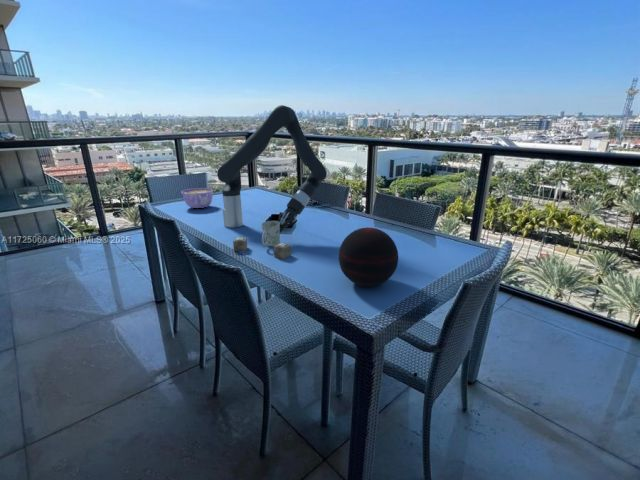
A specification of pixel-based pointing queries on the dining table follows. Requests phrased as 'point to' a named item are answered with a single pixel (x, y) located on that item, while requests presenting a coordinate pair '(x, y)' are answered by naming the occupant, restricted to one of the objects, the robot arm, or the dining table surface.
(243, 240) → the walnut block left
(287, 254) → the walnut block right
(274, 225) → the mug
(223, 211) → the robot arm
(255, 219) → the dining table surface
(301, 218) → the dining table surface
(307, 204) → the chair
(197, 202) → the bowl of food
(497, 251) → the dining table surface
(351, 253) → the decorative orb
